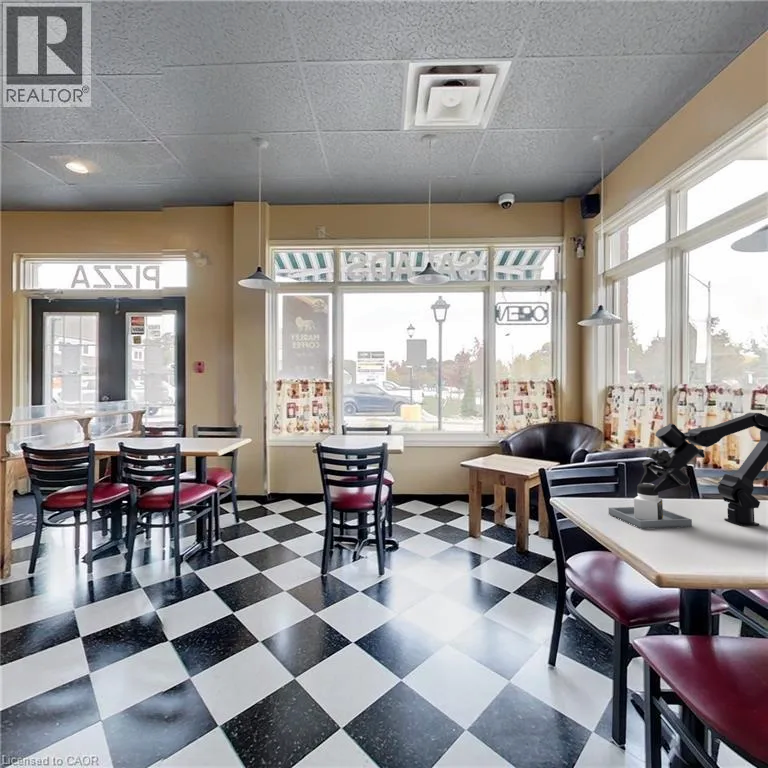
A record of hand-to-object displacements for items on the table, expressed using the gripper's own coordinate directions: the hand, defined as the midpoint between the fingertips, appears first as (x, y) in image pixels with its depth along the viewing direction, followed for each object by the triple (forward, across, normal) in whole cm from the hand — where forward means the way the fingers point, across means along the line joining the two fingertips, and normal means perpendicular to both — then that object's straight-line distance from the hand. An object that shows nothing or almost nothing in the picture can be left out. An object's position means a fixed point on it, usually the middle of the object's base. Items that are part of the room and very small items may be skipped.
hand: (647, 488), depth 135 cm
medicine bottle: (+8, 0, +8) cm, 11 cm away
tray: (+8, 0, +8) cm, 11 cm away
